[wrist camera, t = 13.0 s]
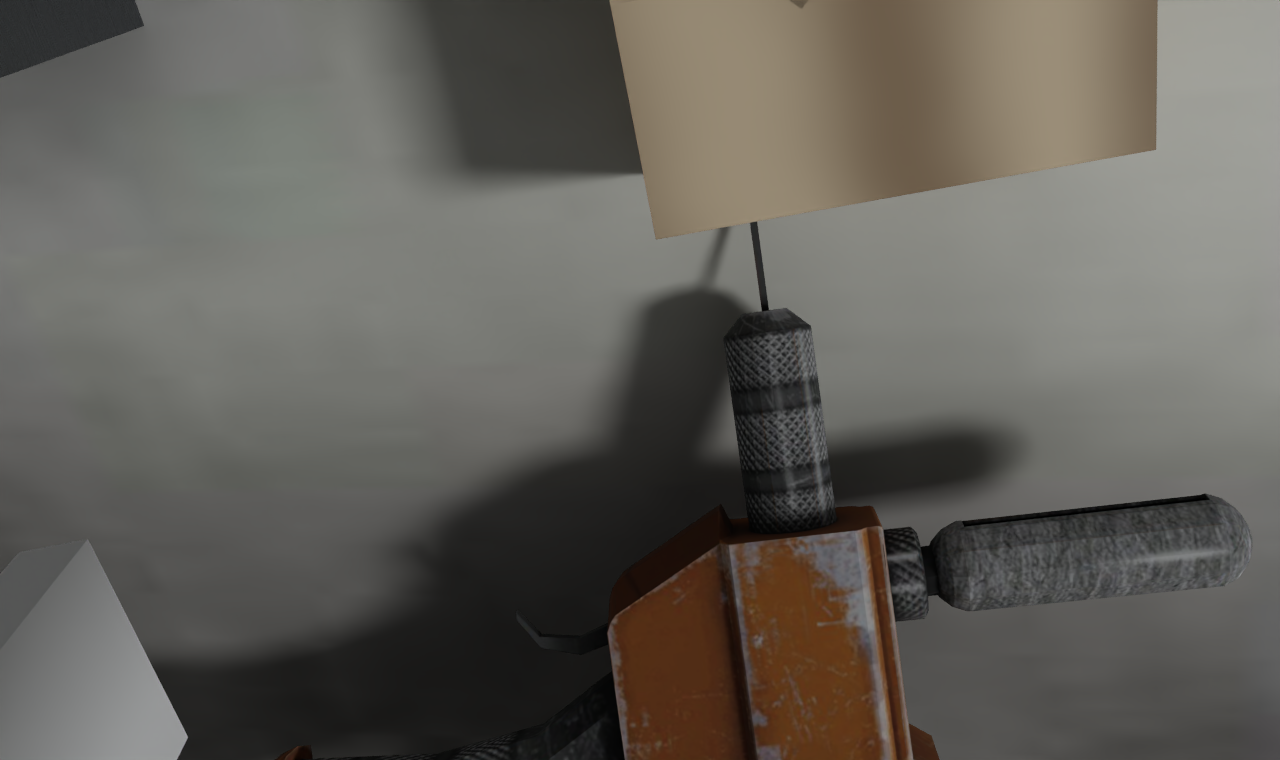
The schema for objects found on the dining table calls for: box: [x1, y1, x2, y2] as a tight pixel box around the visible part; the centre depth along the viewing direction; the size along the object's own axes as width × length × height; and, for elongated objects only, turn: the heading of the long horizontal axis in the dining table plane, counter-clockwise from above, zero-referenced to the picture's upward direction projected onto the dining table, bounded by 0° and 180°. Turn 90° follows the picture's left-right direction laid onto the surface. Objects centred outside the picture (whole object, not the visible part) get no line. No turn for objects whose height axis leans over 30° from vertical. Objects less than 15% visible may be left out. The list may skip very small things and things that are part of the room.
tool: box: [275, 221, 1252, 760], centre depth 33 cm, size 4×27×30 cm
